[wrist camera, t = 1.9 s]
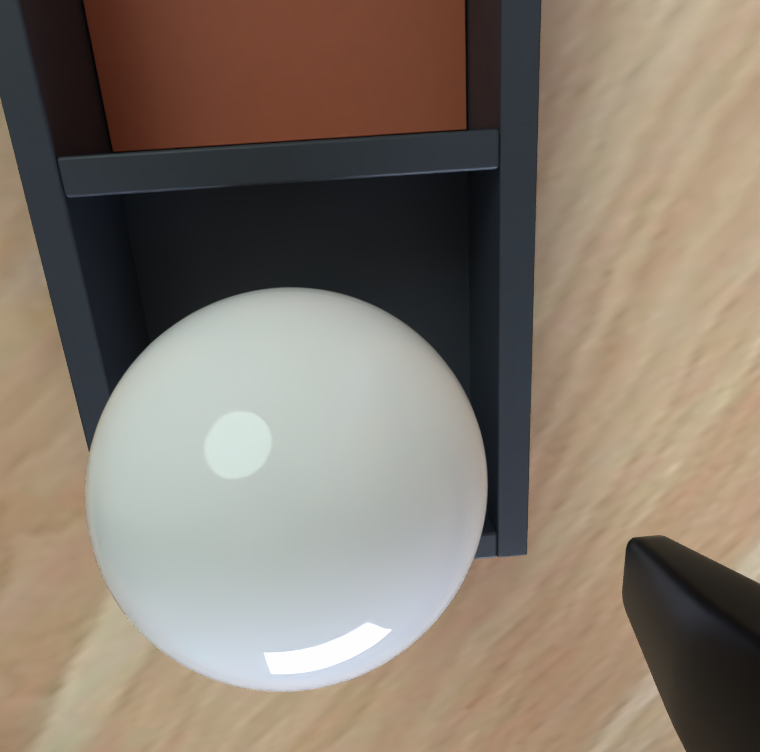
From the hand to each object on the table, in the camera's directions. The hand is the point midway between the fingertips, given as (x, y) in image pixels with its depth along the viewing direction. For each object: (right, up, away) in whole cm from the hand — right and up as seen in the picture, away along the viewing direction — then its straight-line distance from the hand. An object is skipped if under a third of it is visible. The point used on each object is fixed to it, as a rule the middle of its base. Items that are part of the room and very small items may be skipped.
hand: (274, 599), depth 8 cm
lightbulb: (-1, +4, +10) cm, 11 cm away
